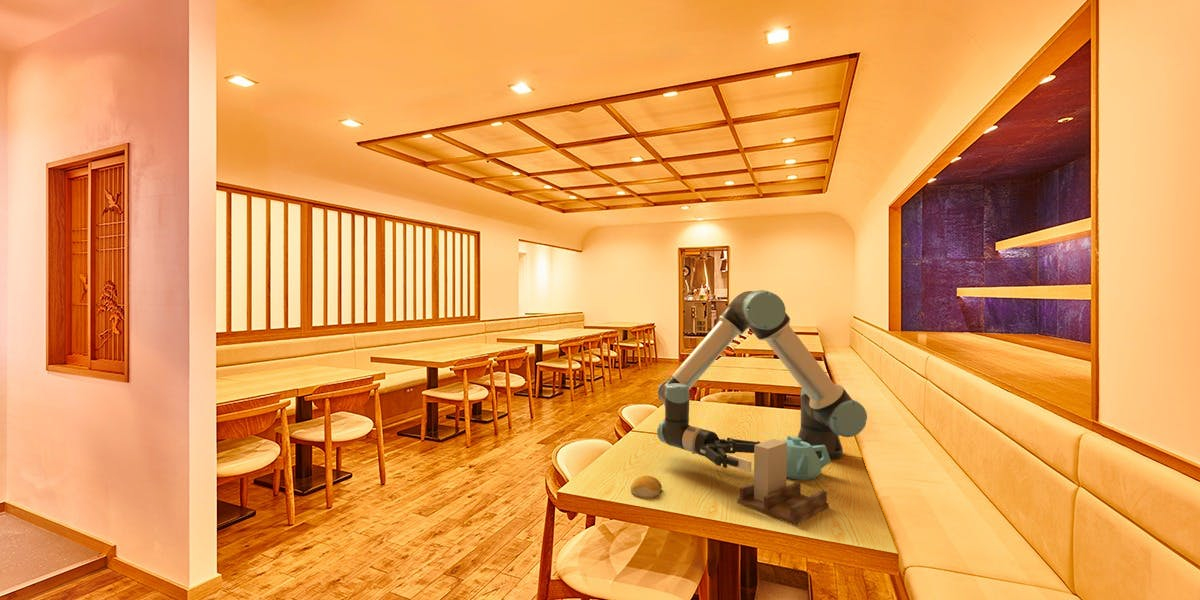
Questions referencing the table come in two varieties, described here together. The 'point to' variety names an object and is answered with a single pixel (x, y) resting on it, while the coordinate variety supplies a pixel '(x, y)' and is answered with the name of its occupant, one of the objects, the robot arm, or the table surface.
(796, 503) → the walnut rack
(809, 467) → the teapot
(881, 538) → the table surface
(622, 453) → the table surface
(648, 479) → the bread roll
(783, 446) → the cardboard box
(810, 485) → the table surface
